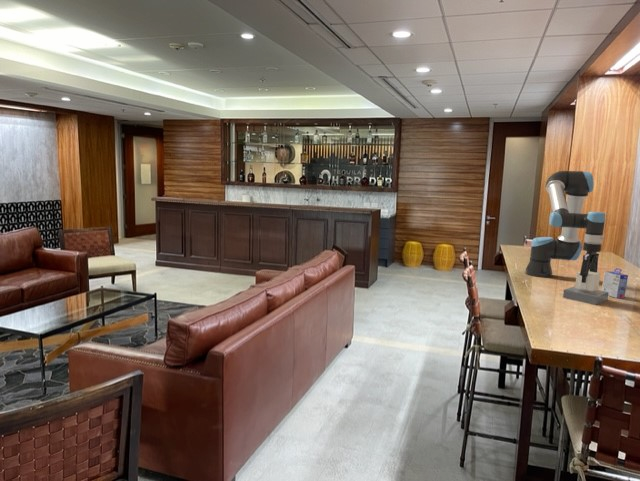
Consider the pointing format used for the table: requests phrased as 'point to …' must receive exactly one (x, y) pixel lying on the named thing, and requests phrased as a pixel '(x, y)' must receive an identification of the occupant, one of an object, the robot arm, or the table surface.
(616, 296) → the ink cartridge box
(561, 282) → the table surface
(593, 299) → the charcoal riser
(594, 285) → the cream cube
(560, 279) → the table surface
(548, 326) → the table surface
